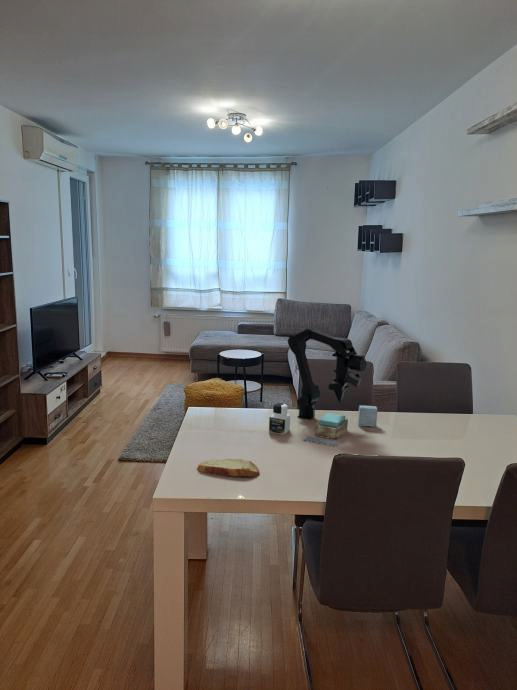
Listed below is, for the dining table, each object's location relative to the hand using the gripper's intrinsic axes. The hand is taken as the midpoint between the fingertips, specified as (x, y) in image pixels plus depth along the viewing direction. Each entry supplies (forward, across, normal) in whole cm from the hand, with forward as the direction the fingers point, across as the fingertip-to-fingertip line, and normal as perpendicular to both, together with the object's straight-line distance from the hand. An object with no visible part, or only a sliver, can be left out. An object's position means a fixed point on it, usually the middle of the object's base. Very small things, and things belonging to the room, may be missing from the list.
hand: (339, 401), depth 233 cm
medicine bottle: (+11, -20, +20) cm, 31 cm away
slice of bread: (+12, -68, +19) cm, 71 cm away
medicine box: (+11, +8, -11) cm, 18 cm away
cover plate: (+7, -10, 0) cm, 12 cm away
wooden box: (+11, -10, 0) cm, 15 cm away
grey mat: (+11, -23, 0) cm, 26 cm away
